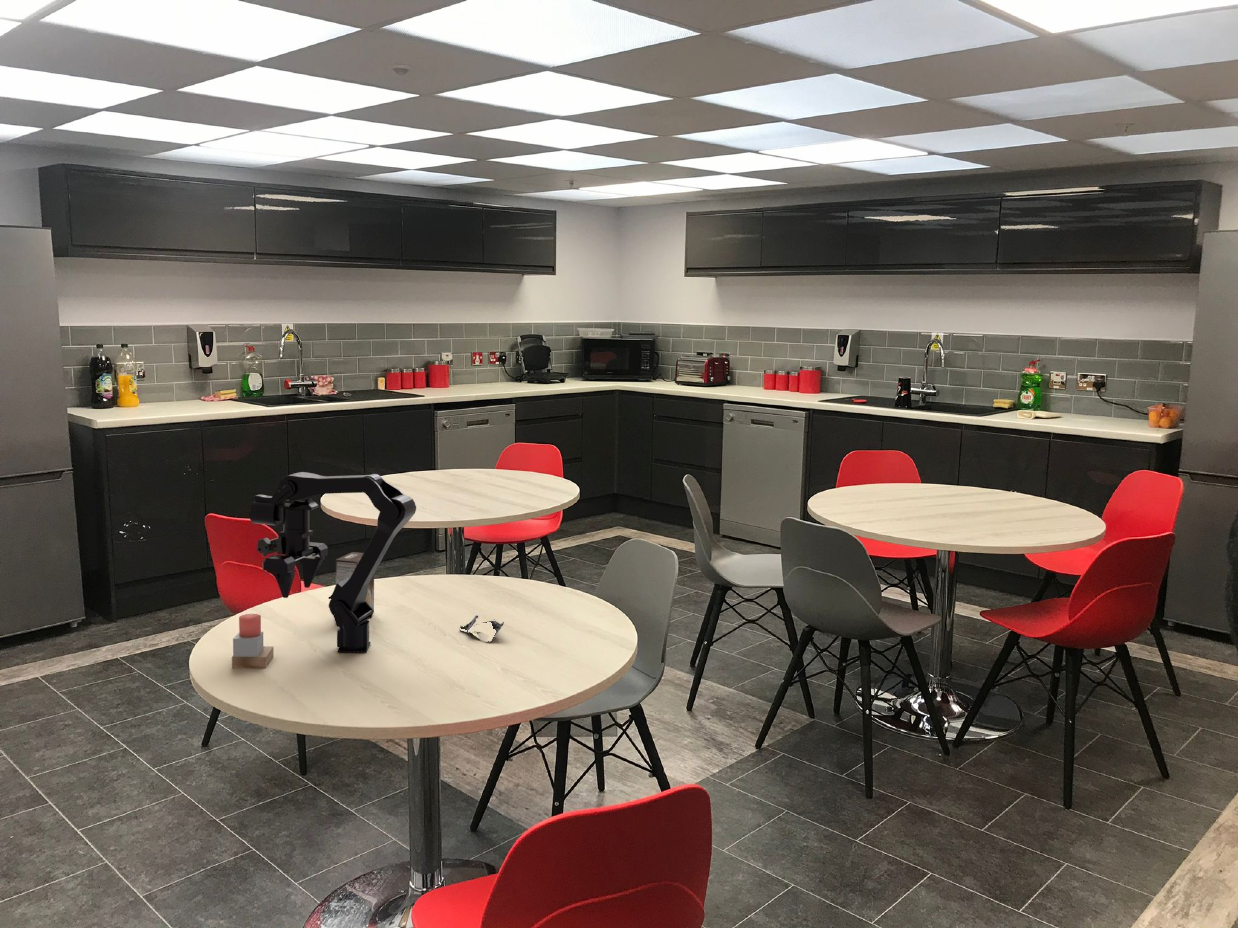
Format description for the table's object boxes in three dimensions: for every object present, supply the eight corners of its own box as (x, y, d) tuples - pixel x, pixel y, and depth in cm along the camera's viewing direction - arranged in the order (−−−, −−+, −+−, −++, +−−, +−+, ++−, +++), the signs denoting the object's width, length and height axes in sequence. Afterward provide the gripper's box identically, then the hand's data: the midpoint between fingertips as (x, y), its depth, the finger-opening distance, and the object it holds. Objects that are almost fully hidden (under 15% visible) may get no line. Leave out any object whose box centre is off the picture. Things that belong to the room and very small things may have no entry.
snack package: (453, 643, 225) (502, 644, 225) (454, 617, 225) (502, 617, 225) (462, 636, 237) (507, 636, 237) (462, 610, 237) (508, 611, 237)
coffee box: (352, 610, 245) (352, 551, 243) (374, 613, 244) (375, 553, 241) (334, 620, 236) (335, 559, 234) (358, 623, 235) (358, 561, 232)
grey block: (263, 649, 206) (263, 631, 206) (257, 656, 201) (257, 638, 201) (240, 648, 206) (239, 631, 205) (233, 656, 201) (233, 638, 200)
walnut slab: (273, 659, 209) (273, 646, 208) (265, 670, 202) (265, 657, 201) (241, 659, 208) (240, 646, 207) (232, 670, 201) (231, 656, 201)
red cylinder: (263, 631, 206) (263, 613, 205) (257, 637, 202) (257, 620, 201) (242, 631, 205) (242, 613, 205) (236, 637, 201) (236, 619, 201)
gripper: (287, 516, 226) (287, 579, 228) (240, 531, 208) (241, 599, 210) (329, 520, 224) (328, 583, 226) (286, 536, 206) (286, 604, 208)
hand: (296, 592), depth 217 cm, fingers open, 9 cm apart
